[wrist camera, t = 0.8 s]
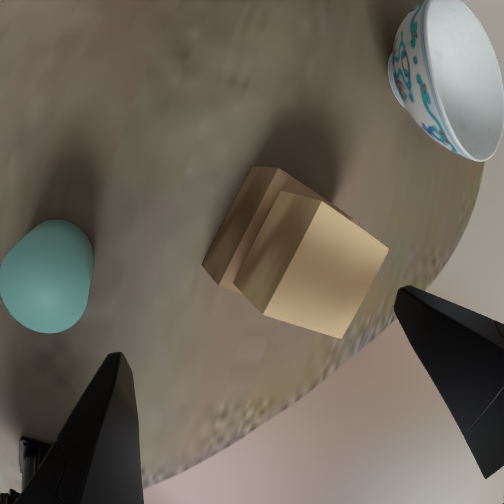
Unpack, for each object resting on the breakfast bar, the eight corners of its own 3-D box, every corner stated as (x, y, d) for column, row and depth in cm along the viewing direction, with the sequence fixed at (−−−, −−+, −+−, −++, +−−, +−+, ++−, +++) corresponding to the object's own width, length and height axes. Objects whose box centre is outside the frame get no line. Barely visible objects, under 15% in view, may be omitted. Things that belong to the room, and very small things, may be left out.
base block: (282, 296, 25) (310, 318, 22) (200, 263, 21) (218, 285, 18) (326, 212, 25) (359, 223, 21) (250, 165, 21) (278, 168, 17)
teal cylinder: (80, 305, 18) (74, 345, 14) (15, 278, 16) (-8, 312, 12) (105, 237, 18) (102, 262, 14) (36, 206, 16) (12, 222, 11)
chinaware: (362, -16, 19) (424, -40, 13) (450, 58, 26) (504, 54, 19) (340, 119, 22) (418, 115, 16) (438, 172, 29) (498, 183, 22)
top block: (305, 310, 21) (341, 338, 18) (232, 283, 18) (262, 314, 15) (346, 232, 21) (389, 248, 17) (280, 190, 18) (321, 200, 14)
